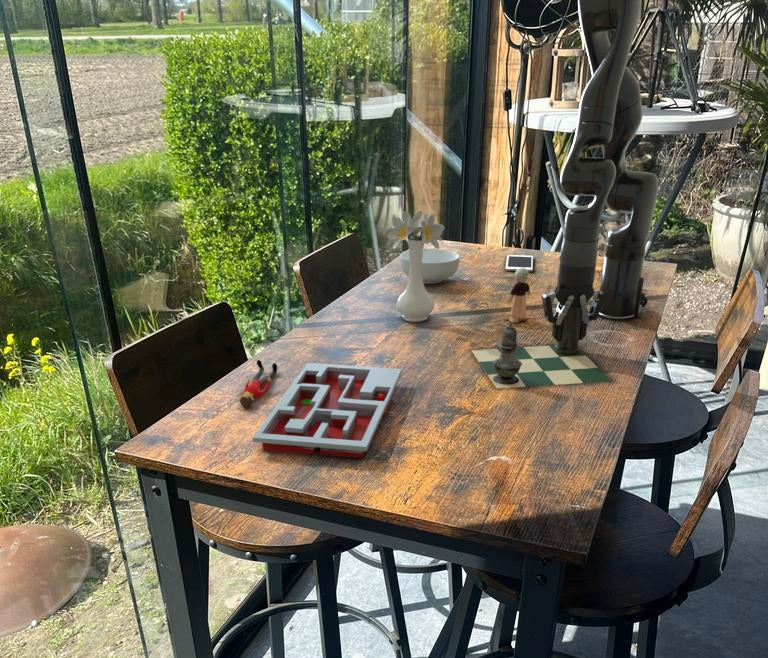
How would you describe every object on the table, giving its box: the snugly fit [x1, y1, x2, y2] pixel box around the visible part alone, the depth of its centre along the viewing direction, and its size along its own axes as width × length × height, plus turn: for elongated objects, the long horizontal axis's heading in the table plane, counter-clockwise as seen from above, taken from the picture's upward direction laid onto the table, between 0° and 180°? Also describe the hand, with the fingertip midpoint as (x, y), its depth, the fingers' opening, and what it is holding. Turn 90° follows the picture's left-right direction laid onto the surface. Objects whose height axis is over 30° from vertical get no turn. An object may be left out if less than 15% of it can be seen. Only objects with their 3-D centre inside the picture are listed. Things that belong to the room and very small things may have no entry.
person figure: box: [239, 359, 278, 409], centre depth 159 cm, size 5×4×18 cm
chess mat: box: [470, 344, 612, 390], centre depth 170 cm, size 24×22×1 cm
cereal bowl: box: [399, 248, 460, 285], centre depth 225 cm, size 17×17×7 cm
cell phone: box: [505, 254, 534, 272], centre depth 240 cm, size 8×16×1 cm, turn 171°
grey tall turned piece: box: [493, 322, 522, 385], centre depth 160 cm, size 6×6×12 cm
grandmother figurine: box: [507, 268, 532, 324], centre depth 193 cm, size 8×4×13 cm, turn 143°
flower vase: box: [385, 210, 445, 323], centre depth 192 cm, size 13×18×25 cm
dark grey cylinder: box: [554, 306, 582, 355], centre depth 175 cm, size 5×5×10 cm
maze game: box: [252, 362, 403, 459], centre depth 148 cm, size 35×20×3 cm, turn 169°
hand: (568, 339), depth 176 cm, fingers closed on dark grey cylinder, 4 cm apart
